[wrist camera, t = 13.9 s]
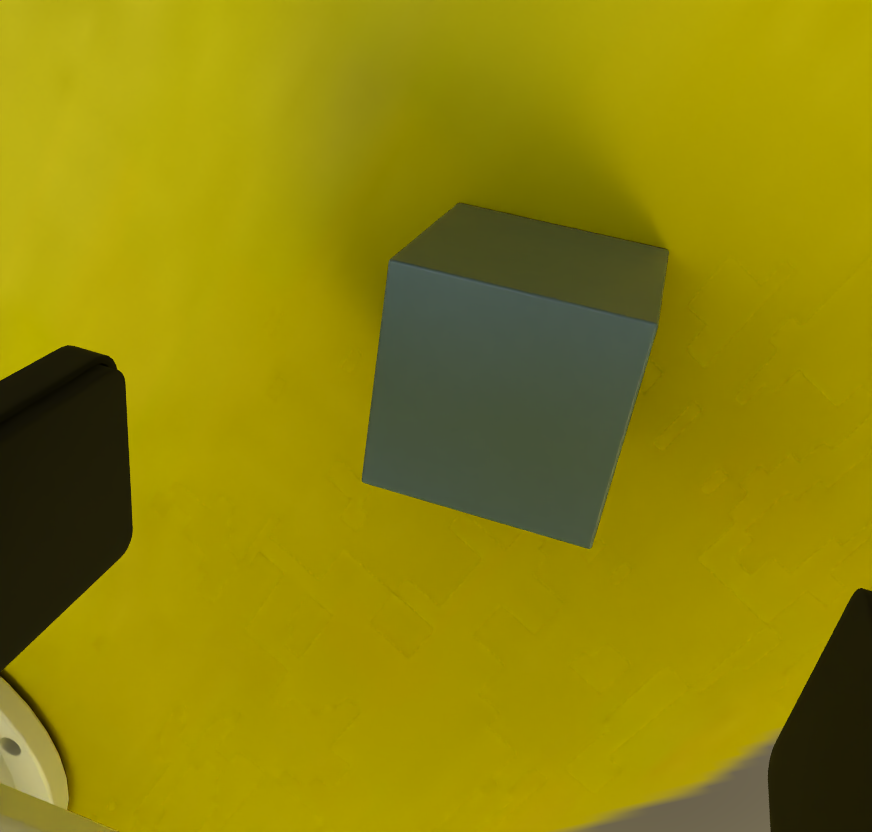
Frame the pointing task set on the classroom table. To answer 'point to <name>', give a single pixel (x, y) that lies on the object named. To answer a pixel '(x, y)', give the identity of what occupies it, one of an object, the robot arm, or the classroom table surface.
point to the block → (511, 368)
